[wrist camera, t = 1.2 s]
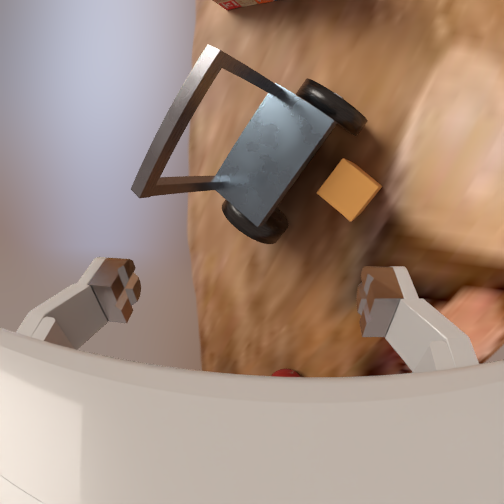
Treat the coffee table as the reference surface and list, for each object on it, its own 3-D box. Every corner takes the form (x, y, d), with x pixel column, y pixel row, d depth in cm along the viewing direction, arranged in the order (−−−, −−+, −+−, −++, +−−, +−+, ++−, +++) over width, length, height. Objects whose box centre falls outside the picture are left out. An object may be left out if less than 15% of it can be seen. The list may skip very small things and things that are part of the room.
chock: (382, 186, 37) (378, 187, 31) (359, 214, 40) (350, 221, 33) (353, 162, 39) (342, 158, 32) (331, 191, 41) (316, 192, 34)
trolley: (372, 123, 36) (338, 59, 16) (285, 239, 46) (183, 290, 25) (316, 85, 38) (231, 10, 18) (238, 199, 48) (118, 218, 27)
